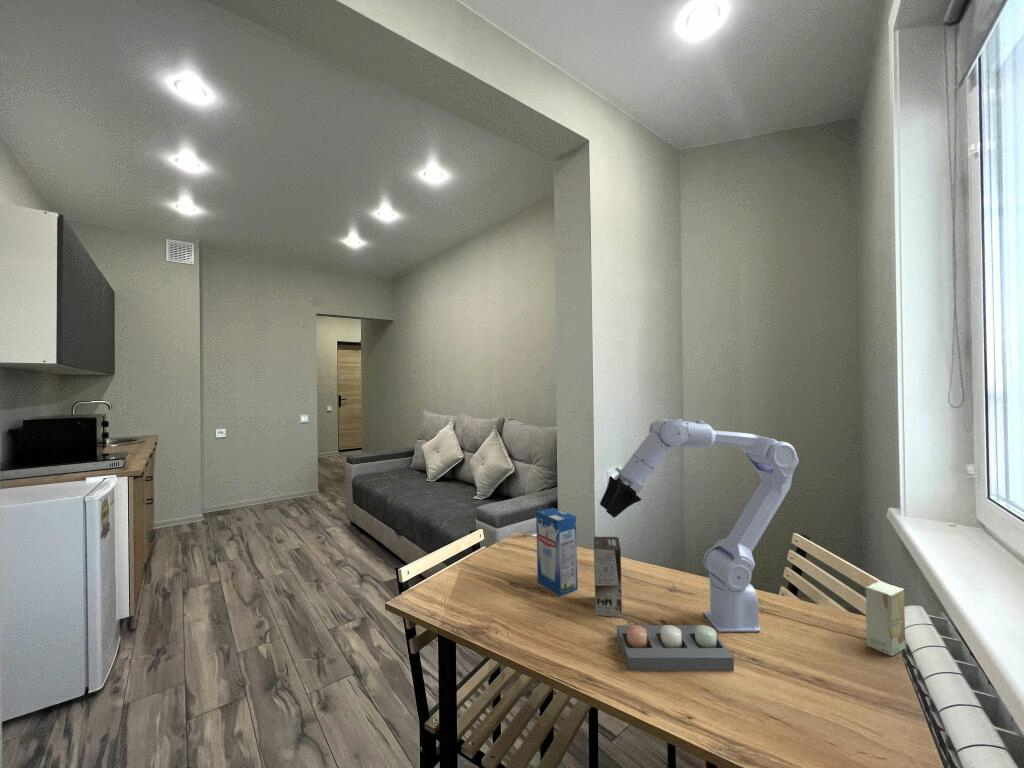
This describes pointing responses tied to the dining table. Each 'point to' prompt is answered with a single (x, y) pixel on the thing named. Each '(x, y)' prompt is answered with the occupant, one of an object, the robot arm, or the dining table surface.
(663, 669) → the button panel
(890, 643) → the skincare box
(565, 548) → the milk carton
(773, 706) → the dining table surface
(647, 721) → the dining table surface
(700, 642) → the pale green egg
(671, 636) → the white rounded piece
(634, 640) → the terracotta button
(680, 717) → the dining table surface
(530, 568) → the dining table surface
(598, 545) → the coffee box
